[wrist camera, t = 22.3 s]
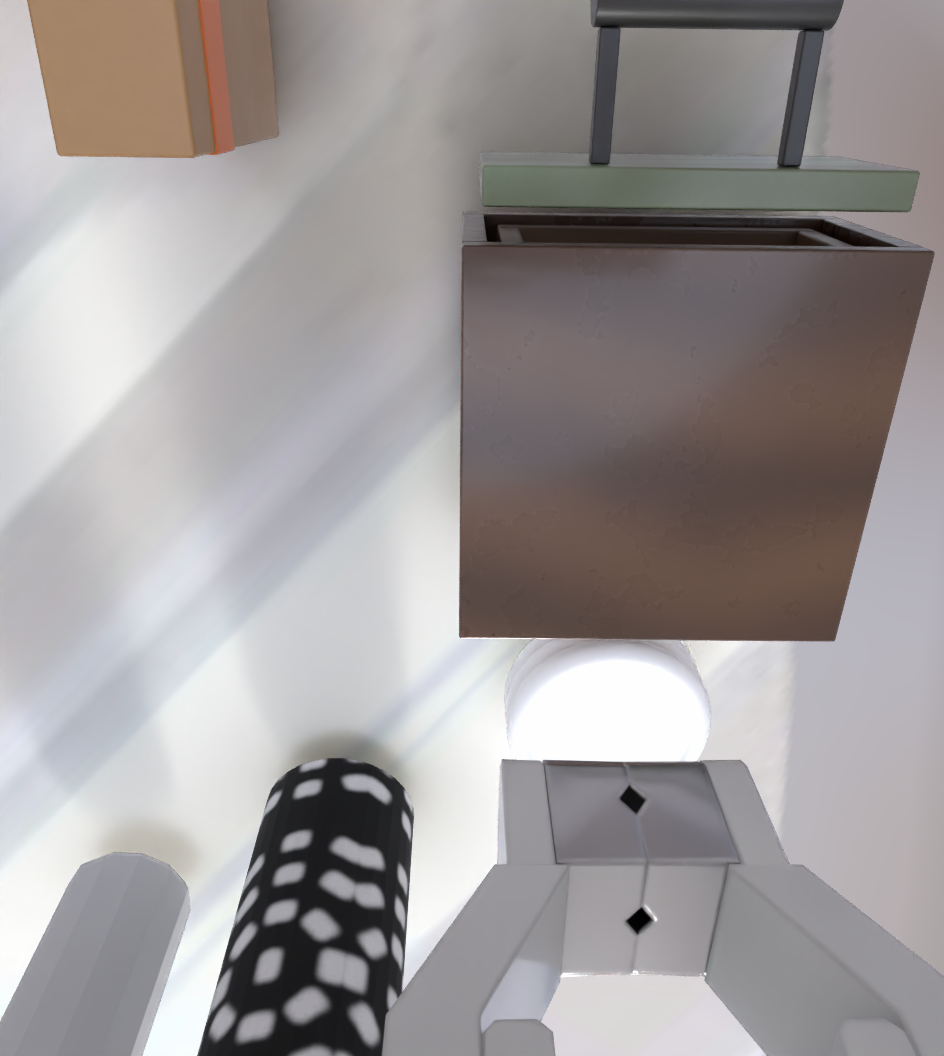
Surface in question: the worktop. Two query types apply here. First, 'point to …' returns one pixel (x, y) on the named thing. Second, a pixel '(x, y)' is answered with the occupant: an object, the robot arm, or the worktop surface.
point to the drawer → (695, 178)
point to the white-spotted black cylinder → (318, 918)
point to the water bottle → (100, 962)
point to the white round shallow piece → (606, 701)
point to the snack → (156, 75)
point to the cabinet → (673, 426)
